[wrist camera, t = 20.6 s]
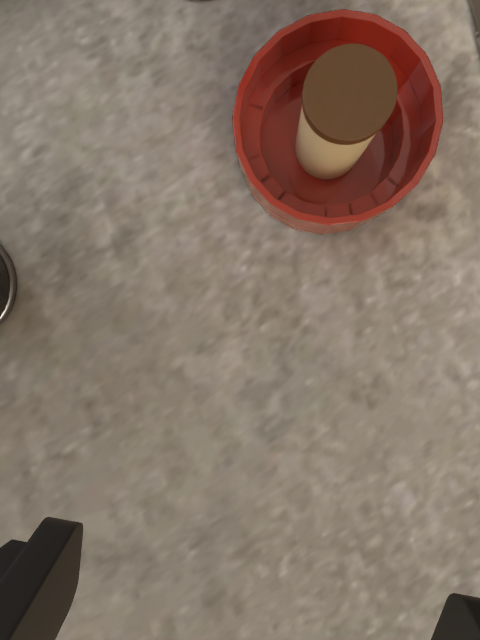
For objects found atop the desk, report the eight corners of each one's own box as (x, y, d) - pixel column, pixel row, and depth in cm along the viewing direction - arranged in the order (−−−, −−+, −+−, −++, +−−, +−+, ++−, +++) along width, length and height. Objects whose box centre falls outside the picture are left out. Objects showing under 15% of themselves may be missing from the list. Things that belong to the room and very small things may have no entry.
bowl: (209, 183, 34) (197, 163, 28) (293, 25, 32) (297, -28, 27) (355, 264, 33) (372, 260, 28) (447, 109, 32) (484, 72, 26)
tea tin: (281, 160, 32) (285, 112, 24) (315, 99, 32) (332, 25, 23) (340, 193, 32) (366, 157, 23) (375, 131, 32) (416, 70, 23)
